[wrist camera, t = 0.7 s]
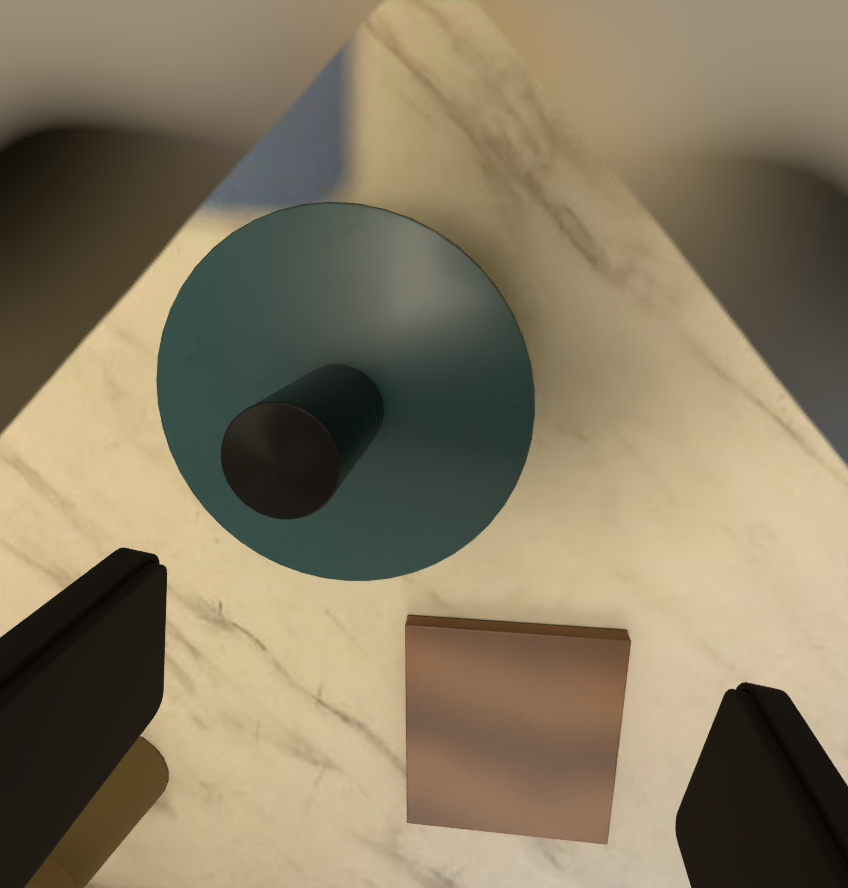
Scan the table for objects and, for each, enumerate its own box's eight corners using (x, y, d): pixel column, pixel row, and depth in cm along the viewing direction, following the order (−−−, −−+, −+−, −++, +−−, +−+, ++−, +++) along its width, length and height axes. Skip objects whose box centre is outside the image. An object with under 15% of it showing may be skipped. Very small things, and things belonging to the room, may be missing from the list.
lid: (106, 395, 23) (-59, 449, 16) (336, 112, 19) (248, 28, 12) (355, 627, 25) (301, 764, 18) (614, 409, 21) (669, 478, 14)
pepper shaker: (128, 816, 41) (-1, 1007, 30) (64, 756, 40) (-91, 931, 29) (186, 779, 39) (72, 967, 29) (121, 714, 38) (-21, 884, 28)
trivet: (407, 614, 34) (405, 625, 33) (627, 629, 32) (631, 641, 31) (409, 809, 38) (406, 823, 37) (604, 829, 36) (607, 845, 35)
